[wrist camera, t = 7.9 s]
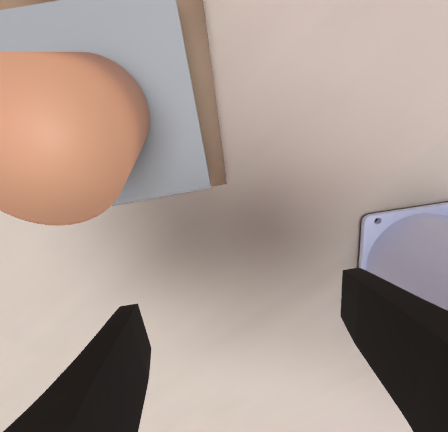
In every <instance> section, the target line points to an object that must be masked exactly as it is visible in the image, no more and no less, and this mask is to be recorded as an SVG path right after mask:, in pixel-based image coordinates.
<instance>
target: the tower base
mask: <svg viewBox="0 0 448 432" xmlns="http://www.w3.org/2000/svg"><path fill="white" fill-rule="evenodd" d="M52 1H58V0H0V10H4V9H10V8H16V7H22V6H28V5H34V4H40V3H46V2H52ZM177 5H178V10H179V15H180V21H181V26H182V32H183V37H184V42H185V48H186V53H187V58H188V64H189V69H190V75H191V80H192V85H193V91H194V96H195V101H196V107H197V112H198V118H199V123H200V128H201V134H202V139H203V144H204V150H205V155H206V161H207V166H208V171H209V177H210V184H211V186H215V185H222V184H227V183H226V175H225V168H224V160H223V152H222V144H221V137H220V129H219V121H218V113H217V106H216V98H215V90H214V82H213V75H212V67H211V59H210V51H209V44H208V36H207V28H206V20H205V13H204V5H203V0H177Z"/></svg>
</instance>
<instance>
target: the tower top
mask: <svg viewBox="0 0 448 432" xmlns="http://www.w3.org/2000/svg"><path fill="white" fill-rule="evenodd" d="M7 51H16V52H89V53H94V54H98V55H101V56H104V57H106V58H108V59H110V60H112V61H114V62H116V63H117V64H118V65H120V66H121V67H123V68H124V69H125V70H126V71H127V72H128V73H129V74H130V75H131V76H132V77H133V78H134V79H135V81H136V82H137V84H138V85H139V86H140V88H141V90H142V92H143V94H144V96H145V98H146V101H147V104H148V108H149V114H150V127H149V132H148V136H147V139H146V141H145V143H144V145H143V147H142V149H141V152H140V154H139V156H138V158H137V160H136V162H135V164H134V166H133V168H132V171H131V173H130V175H129V177H128V179H127V181H126V183H125V185H124V187H123V189H122V191H121V193H120V195H119V196H118V198H117V199H116V201H115V202H114V203H113V204H112V205H111V206H115V205H120V204H126V203H131V202H137V201H142V200H148V199H153V198H159V197H165V196H170V195H176V194H181V193H187V192H192V191H198V190H203V189H209V188H211V184H210V177H209V171H208V166H207V161H206V155H205V150H204V144H203V139H202V134H201V128H200V123H199V118H198V112H197V107H196V101H195V96H194V91H193V85H192V80H191V75H190V69H189V64H188V58H187V53H186V48H185V42H184V37H183V32H182V26H181V21H180V15H179V10H178V5H177V0H58V1H52V2H46V3H40V4H34V5H28V6H22V7H16V8H10V9H4V10H0V52H7Z"/></svg>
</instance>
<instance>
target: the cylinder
mask: <svg viewBox="0 0 448 432" xmlns="http://www.w3.org/2000/svg"><path fill="white" fill-rule="evenodd" d="M149 127H150V114H149V108H148V104H147V101H146V98H145V96H144V94H143V92H142V90H141V88H140V86H139V85H138V84H137V82H136V81H135V79H134V78H133V77H132V76H131V75H130V74H129V73H128V72H127V71H126V70H125V69H124V68H123V67H121V66H120V65H118V64H117V63H116V62H114V61H112V60H110V59H108V58H106V57H104V56H101V55H98V54H94V53H89V52H16V51H7V52H0V210H1V211H3V212H4V213H7V214H9V215H11V216H14V217H16V218H19V219H22V220H25V221H29V222H33V223H38V224H45V225H71V224H76V223H81V222H84V221H87V220H90V219H92V218H94V217H96V216H98V215H100V214H101V213H103V212H104V211H106V210H107V209H108V208H109V207H110V206H111V205H112V204H113V203H114V202H115V201H116V199H117V198H118V196H119V195H120V193H121V191H122V189H123V187H124V185H125V183H126V181H127V179H128V177H129V175H130V173H131V171H132V168H133V166H134V164H135V162H136V160H137V158H138V156H139V154H140V152H141V149H142V147H143V145H144V143H145V141H146V139H147V136H148V132H149Z"/></svg>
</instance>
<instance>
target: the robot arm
mask: <svg viewBox="0 0 448 432" xmlns="http://www.w3.org/2000/svg"><path fill="white" fill-rule="evenodd" d="M376 218H378V220H377V221H376V222H374V221H375V219H376ZM341 318H342V320H343V322H344V324H345V326H346V328H347V330H348V332H349V333H350V335H351V337H352V339H353V341H354V343H355V344H356V346H357V347H358V349H359V350H360V352H361V353H362V355H363V356H364V358H365V359H366V361H367V362H368V364H369V365H370V367H371V368H372V370H373V371H374V373H375V374H376V375H377V377H378V378H379V380H380V381H381V383H382V384H383V386H384V387H385V389H386V390H387V391H388V393H389V394H390V396H391V397H392V399H393V400H394V402H395V403H396V405H397V406H398V408H399V409H400V411H401V412H402V414H403V415H404V417H405V418H406V420H407V422H408V423H409V425H410V426H411V428H412V430H413V432H448V202H445V203H438V204H432V205H425V206H419V207H412V208H406V209H399V210H393V211H386V212H379V213H373V214H368V215H366V216H364V217H363V219H362V226H361V241H360V255H359V268H354V269H348V270H343V277H342V299H341ZM150 358H151V346H150V342H149V339H148V336H147V333H146V329H145V326H144V323H143V319H142V316H141V313H140V309H139V306H138V304H133V305H127V306H121V307H119V308H118V309H117V311H116V312H115V313H114V314H113V315H112V316H111V318H110V319H109V320H108V321H107V322H106V324H105V325H104V326H103V327H102V328H101V330H100V331H99V332H98V333H97V334H96V336H95V337H94V338H93V339H92V340H91V341H90V343H89V344H88V345H87V346H86V347H85V348H84V350H83V351H82V352H81V353H80V354H79V355H78V357H77V358H76V359H75V360H74V361H73V362H72V363H71V364H70V365H69V366H68V367H67V369H66V370H65V371H64V372H63V373H62V374H61V375H60V376H59V377H58V378H57V379H56V380H55V382H54V383H53V384H52V385H51V386H50V387H49V388H48V389H47V390H46V391H45V392H44V393H43V394H42V395H41V396H40V397H39V398H38V399H37V400H36V401H35V402H34V403H33V404H32V405H31V406H30V407H29V408H28V409H27V410H26V411H25V412H24V413H23V414H22V415H21V416H20V417H19V418H17V419H16V420H15V421H14V422H13V423H12V424H11V425H10V426H9V427H8V428H7V429H6V430H5V431H4V432H138V429H139V424H140V419H141V414H142V409H143V405H144V400H145V395H146V390H147V384H148V379H149V369H150Z"/></svg>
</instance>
